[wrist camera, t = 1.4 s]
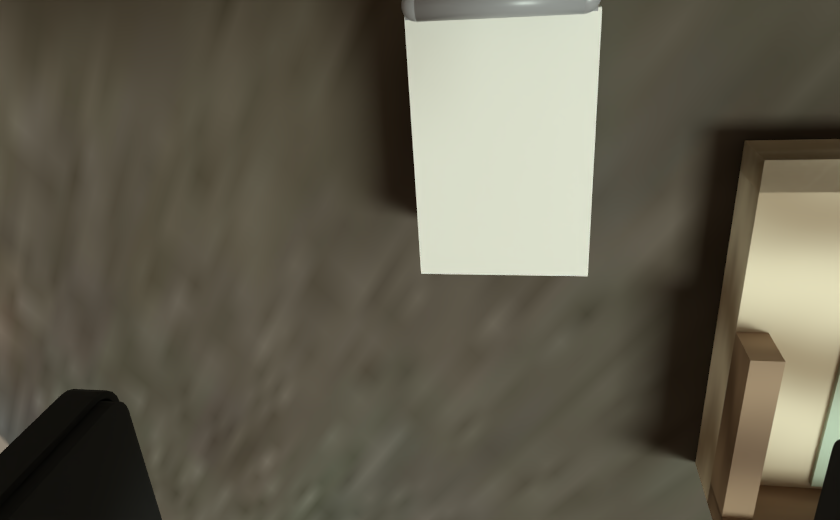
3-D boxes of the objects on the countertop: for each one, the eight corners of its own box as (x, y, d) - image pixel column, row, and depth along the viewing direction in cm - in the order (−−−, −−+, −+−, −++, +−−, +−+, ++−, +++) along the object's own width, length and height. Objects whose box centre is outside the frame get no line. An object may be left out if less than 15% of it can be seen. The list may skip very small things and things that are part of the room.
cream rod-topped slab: (424, -22, 25) (392, -9, 19) (591, -32, 24) (609, -21, 18) (437, 224, 29) (414, 294, 23) (579, 224, 28) (590, 297, 22)
